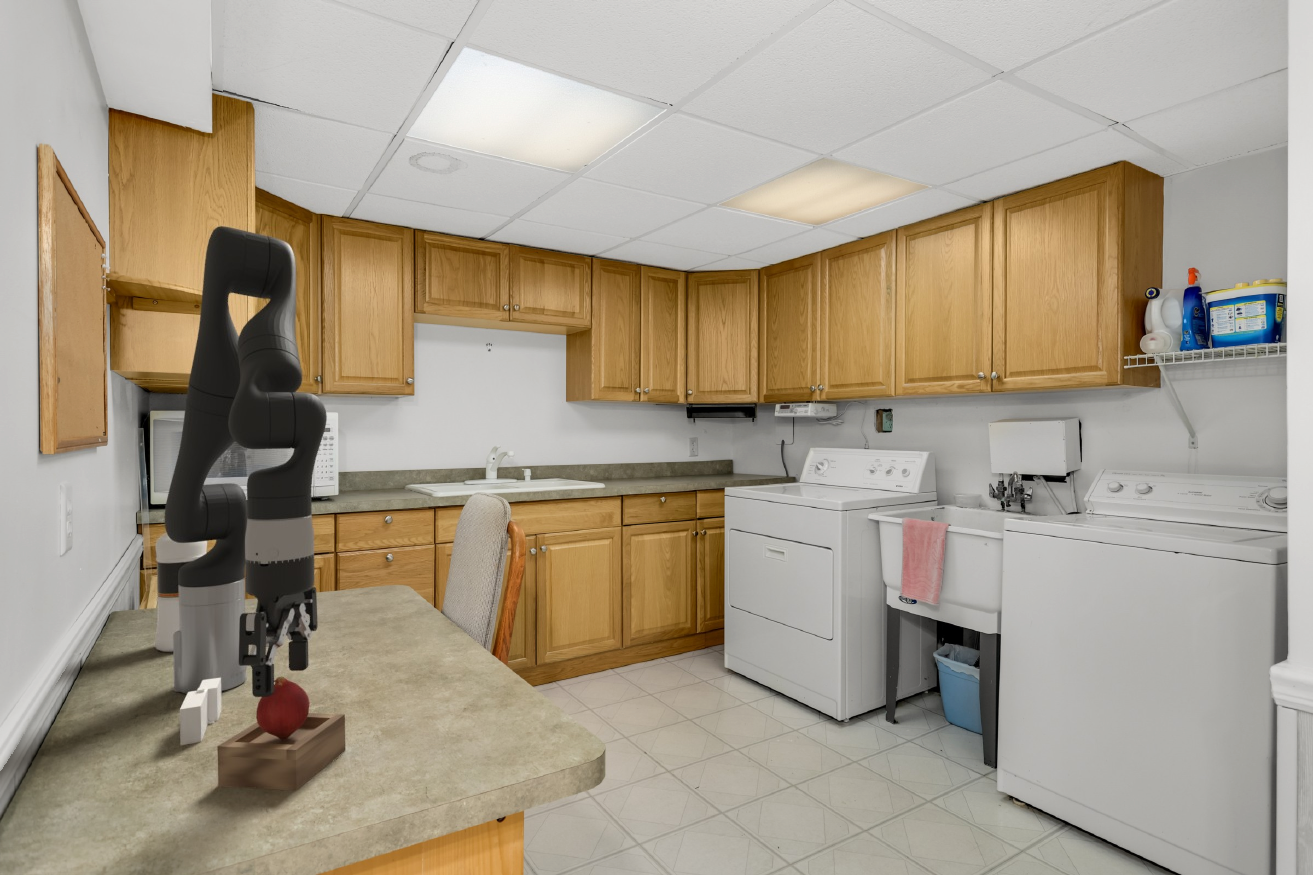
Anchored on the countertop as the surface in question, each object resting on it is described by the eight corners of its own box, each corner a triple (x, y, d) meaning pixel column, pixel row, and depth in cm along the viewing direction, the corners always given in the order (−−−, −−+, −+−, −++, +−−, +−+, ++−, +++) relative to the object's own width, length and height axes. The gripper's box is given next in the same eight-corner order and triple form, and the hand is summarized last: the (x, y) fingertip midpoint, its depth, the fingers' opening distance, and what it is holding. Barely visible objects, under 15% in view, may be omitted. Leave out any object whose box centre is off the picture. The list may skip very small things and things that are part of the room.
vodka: (170, 656, 129) (167, 496, 129) (144, 648, 134) (141, 494, 133) (221, 642, 137) (218, 492, 137) (195, 636, 142) (193, 490, 141)
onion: (271, 727, 89) (267, 667, 88) (318, 724, 89) (314, 664, 88) (249, 751, 83) (245, 687, 82) (299, 748, 83) (295, 685, 83)
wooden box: (218, 789, 82) (217, 746, 81) (274, 750, 91) (274, 711, 91) (296, 793, 80) (295, 749, 80) (345, 753, 90) (344, 714, 90)
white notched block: (195, 755, 90) (194, 712, 90) (124, 748, 93) (123, 705, 92) (280, 709, 105) (279, 672, 105) (217, 704, 107) (216, 667, 107)
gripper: (279, 542, 93) (280, 662, 93) (214, 564, 78) (216, 706, 79) (336, 542, 93) (337, 662, 93) (281, 564, 79) (283, 705, 79)
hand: (281, 682), depth 86 cm, fingers open, 8 cm apart
